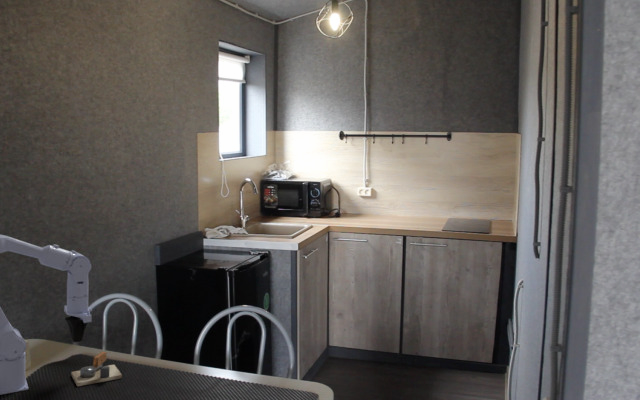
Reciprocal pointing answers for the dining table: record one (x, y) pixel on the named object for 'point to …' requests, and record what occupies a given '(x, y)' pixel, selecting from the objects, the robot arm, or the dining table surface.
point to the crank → (90, 370)
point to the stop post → (104, 372)
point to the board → (96, 376)
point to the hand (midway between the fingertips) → (77, 341)
